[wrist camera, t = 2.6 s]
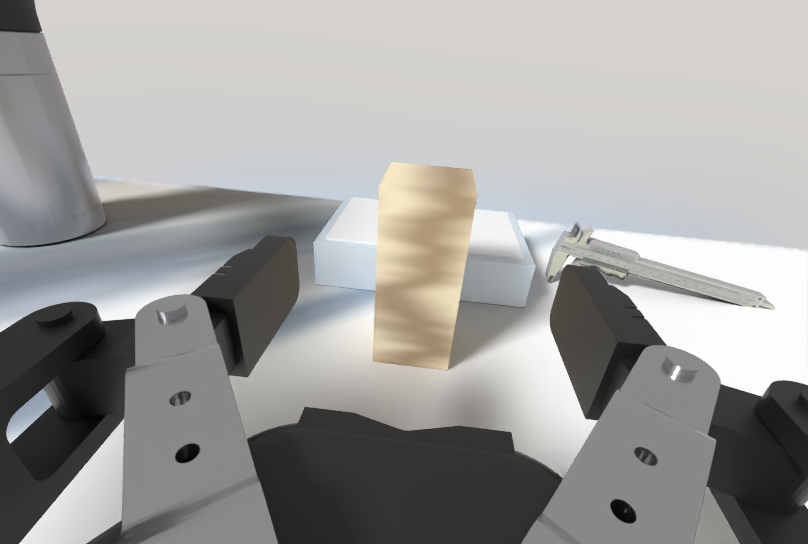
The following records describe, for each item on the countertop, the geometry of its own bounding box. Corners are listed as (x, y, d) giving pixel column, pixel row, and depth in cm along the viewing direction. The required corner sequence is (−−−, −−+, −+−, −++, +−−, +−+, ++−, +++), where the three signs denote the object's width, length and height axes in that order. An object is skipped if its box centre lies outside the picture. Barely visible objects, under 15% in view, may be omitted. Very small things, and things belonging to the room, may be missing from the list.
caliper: (545, 285, 36) (563, 224, 33) (543, 279, 37) (560, 219, 34) (772, 312, 35) (814, 250, 32) (764, 305, 36) (803, 245, 33)
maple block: (372, 361, 25) (378, 185, 19) (383, 316, 30) (391, 161, 24) (447, 370, 25) (477, 194, 19) (447, 324, 30) (471, 169, 24)
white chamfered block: (315, 284, 33) (313, 240, 31) (346, 229, 44) (346, 194, 41) (524, 307, 32) (536, 264, 30) (505, 246, 43) (513, 210, 40)
